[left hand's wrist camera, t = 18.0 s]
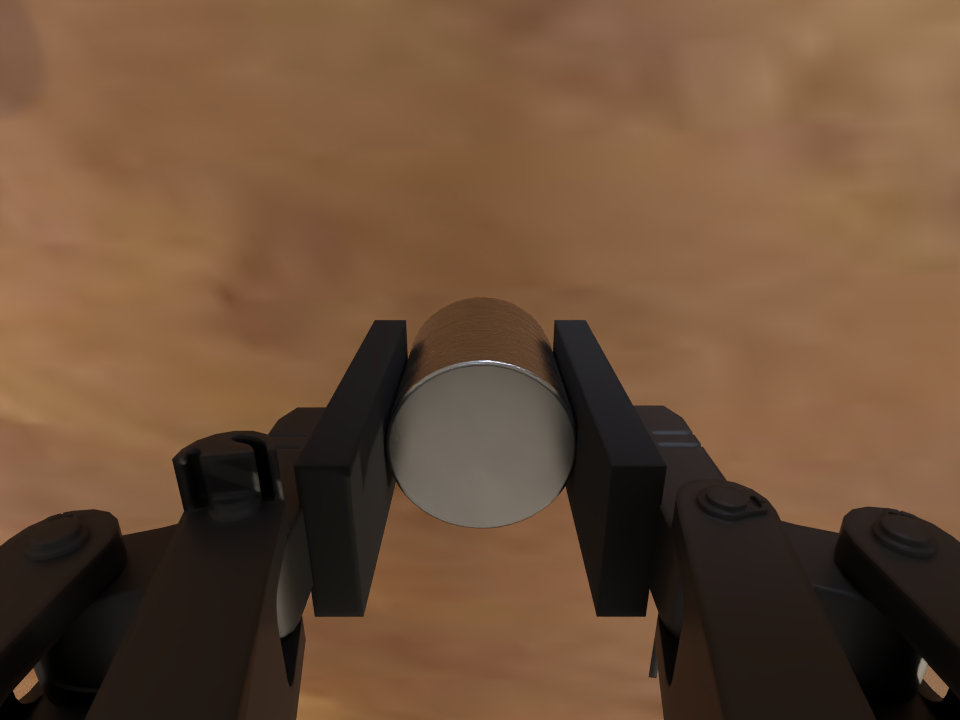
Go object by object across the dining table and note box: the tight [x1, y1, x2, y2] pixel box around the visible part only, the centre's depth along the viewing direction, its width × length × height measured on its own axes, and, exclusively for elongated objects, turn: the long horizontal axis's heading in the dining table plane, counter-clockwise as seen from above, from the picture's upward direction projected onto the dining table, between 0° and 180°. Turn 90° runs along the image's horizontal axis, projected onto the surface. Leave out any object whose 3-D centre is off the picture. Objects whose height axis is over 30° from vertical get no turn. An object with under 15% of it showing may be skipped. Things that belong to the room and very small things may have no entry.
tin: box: [385, 298, 577, 528], centre depth 13 cm, size 4×4×4 cm
